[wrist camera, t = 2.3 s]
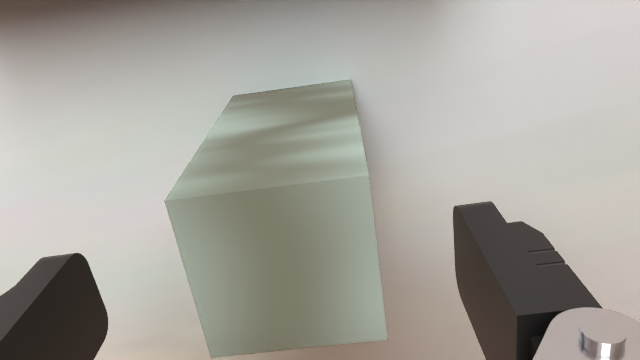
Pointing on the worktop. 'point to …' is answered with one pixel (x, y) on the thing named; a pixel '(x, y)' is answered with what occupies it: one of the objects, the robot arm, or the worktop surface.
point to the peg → (281, 225)
